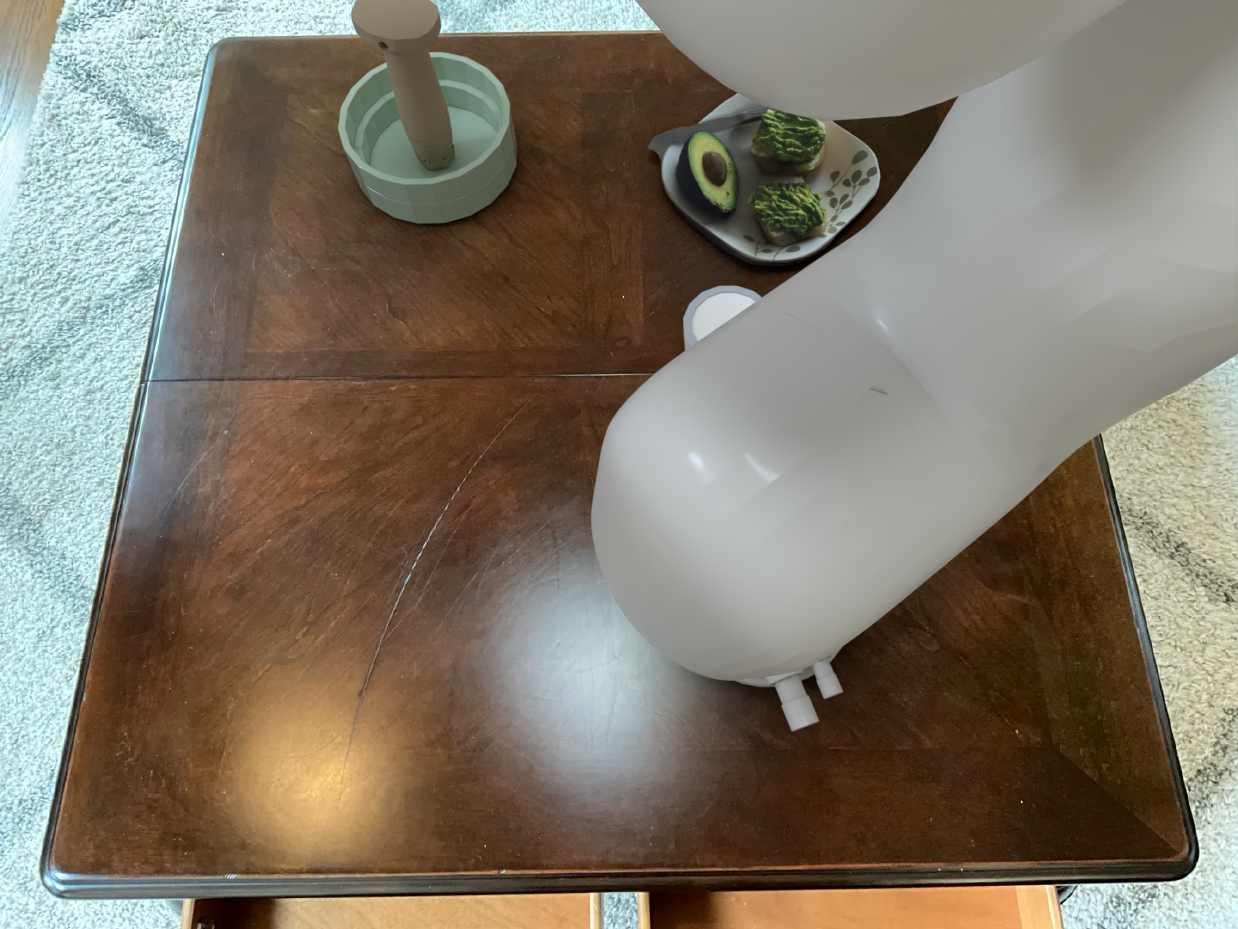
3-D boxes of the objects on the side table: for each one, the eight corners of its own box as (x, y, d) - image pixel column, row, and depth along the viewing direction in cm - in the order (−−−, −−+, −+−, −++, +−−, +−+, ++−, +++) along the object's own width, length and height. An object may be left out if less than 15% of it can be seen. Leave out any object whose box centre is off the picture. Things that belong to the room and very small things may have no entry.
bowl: (537, 200, 76) (530, 156, 71) (378, 246, 75) (359, 204, 70) (492, 84, 82) (483, 34, 77) (342, 124, 80) (323, 76, 75)
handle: (459, 188, 76) (421, 46, 63) (392, 169, 77) (340, 25, 64) (481, 147, 78) (448, 0, 64) (415, 128, 79) (369, -20, 65)
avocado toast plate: (773, 58, 82) (780, 16, 78) (924, 166, 77) (941, 128, 73) (623, 174, 77) (623, 136, 73) (774, 298, 72) (782, 265, 68)
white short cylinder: (782, 380, 69) (797, 334, 63) (712, 425, 68) (720, 383, 62) (730, 319, 72) (739, 268, 65) (661, 361, 70) (663, 314, 64)
